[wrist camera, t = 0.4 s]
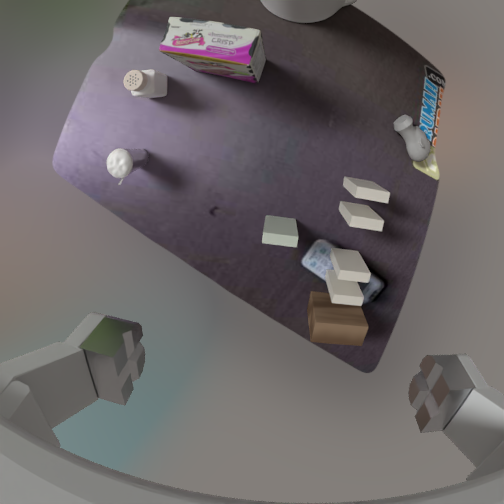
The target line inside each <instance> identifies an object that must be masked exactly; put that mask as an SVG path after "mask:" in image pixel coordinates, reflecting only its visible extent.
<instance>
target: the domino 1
mask: <svg viewBox="0 0 504 504" xmlns="http://www.w3.org/2000/svg"><path fill="white" fill-rule="evenodd" d="M262 243H267V244H274V245H282V246H290V247H297V243H298V231H297V224H296V219H292V218H285V217H277V216H269V215H266V219H265V225H264V231H263V238H262Z"/></svg>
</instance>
